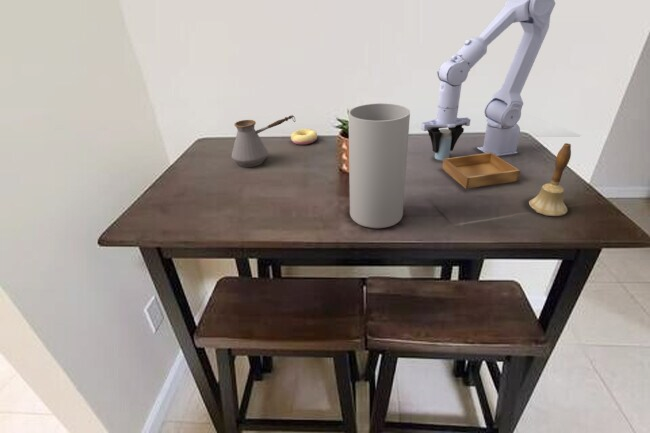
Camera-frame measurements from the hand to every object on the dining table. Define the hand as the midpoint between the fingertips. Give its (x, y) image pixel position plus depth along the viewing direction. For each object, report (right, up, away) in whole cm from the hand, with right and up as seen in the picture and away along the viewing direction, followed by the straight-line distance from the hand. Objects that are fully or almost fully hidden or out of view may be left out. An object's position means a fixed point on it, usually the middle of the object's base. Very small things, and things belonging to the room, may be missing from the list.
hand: (442, 150), depth 116 cm
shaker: (0, -2, +1) cm, 3 cm away
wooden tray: (+7, -9, -10) cm, 15 cm away
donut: (-43, +7, +21) cm, 49 cm away
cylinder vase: (-24, -20, -25) cm, 40 cm away
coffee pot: (-55, -3, +6) cm, 55 cm away
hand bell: (+17, -18, -25) cm, 36 cm away
